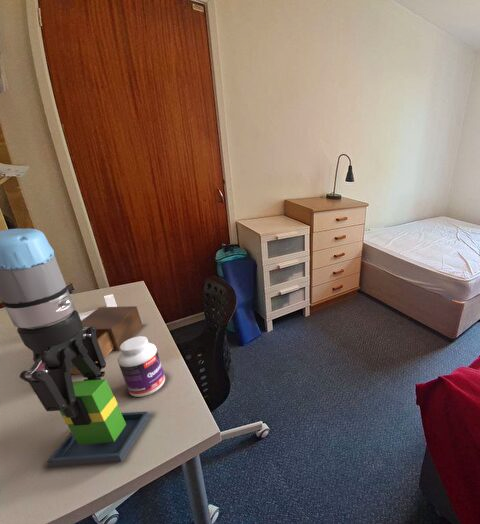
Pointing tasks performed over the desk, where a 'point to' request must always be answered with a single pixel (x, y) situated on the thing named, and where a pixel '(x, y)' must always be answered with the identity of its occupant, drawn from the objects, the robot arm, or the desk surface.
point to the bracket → (110, 303)
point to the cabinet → (115, 322)
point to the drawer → (105, 345)
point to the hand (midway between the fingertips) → (92, 412)
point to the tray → (100, 445)
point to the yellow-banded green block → (97, 413)
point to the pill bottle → (140, 366)
